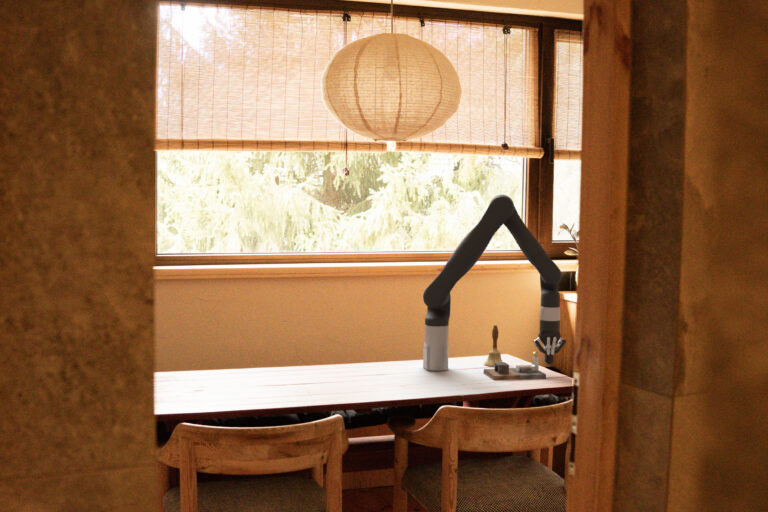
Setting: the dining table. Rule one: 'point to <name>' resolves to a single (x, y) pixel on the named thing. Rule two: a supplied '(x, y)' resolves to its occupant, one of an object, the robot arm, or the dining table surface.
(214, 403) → the dining table surface
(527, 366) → the bolt
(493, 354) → the hand bell
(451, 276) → the robot arm
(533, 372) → the lock plate
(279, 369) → the dining table surface
